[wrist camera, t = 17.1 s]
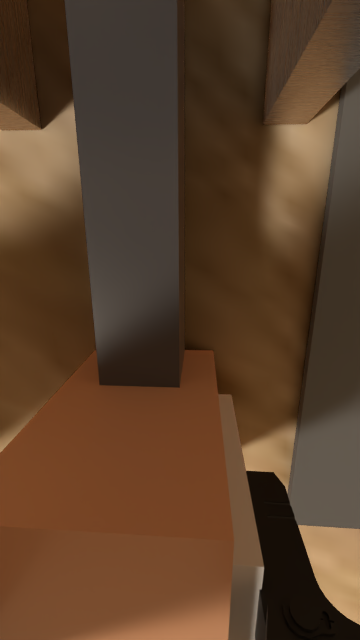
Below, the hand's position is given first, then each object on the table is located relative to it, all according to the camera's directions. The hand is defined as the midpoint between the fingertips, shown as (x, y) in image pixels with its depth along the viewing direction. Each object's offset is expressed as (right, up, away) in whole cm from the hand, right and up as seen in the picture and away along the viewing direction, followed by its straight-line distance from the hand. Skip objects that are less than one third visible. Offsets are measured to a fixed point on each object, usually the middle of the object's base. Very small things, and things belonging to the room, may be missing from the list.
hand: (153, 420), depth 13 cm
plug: (0, +6, -1) cm, 6 cm away
